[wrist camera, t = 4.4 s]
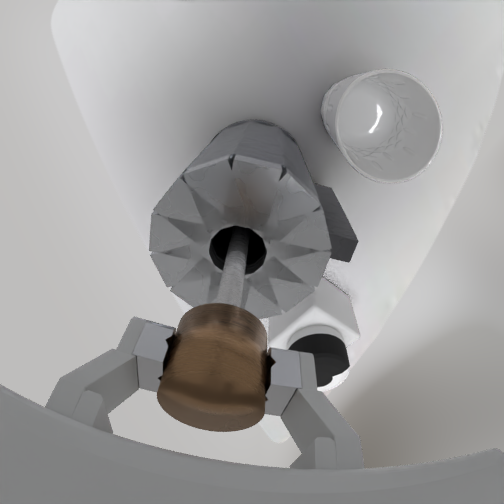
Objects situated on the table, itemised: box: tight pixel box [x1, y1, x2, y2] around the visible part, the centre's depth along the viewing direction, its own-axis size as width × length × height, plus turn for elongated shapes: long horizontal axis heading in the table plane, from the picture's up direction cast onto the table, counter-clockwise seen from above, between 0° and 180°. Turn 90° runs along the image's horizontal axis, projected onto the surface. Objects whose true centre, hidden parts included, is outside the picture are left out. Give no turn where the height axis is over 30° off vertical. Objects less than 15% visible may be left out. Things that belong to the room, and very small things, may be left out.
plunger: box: [157, 225, 267, 432], centre depth 16 cm, size 7×7×18 cm
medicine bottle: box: [268, 277, 360, 392], centre depth 33 cm, size 7×7×12 cm
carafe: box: [149, 120, 358, 319], centre depth 23 cm, size 10×12×16 cm
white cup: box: [321, 69, 443, 183], centre depth 22 cm, size 8×8×10 cm
